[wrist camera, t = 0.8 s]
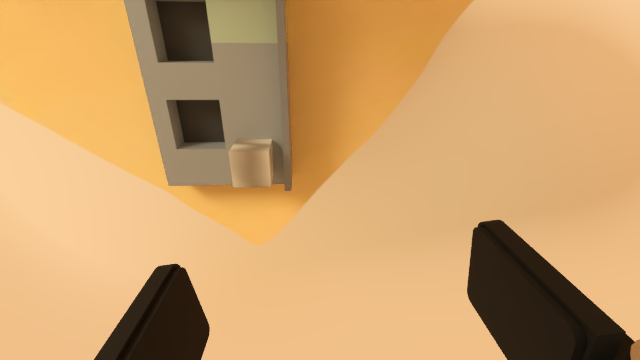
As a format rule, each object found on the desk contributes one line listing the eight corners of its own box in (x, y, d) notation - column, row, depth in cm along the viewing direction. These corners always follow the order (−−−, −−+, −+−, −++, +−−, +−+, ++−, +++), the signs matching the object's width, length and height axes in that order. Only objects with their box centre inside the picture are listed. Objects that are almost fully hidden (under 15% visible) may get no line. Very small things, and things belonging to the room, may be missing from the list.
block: (240, 171, 38) (233, 187, 34) (236, 139, 36) (228, 151, 32) (274, 171, 38) (271, 186, 34) (272, 139, 37) (268, 151, 33)
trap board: (177, 176, 41) (162, 193, 37) (130, -33, 31) (101, -45, 26) (292, 174, 42) (291, 190, 38) (284, -30, 32) (282, -41, 27)
